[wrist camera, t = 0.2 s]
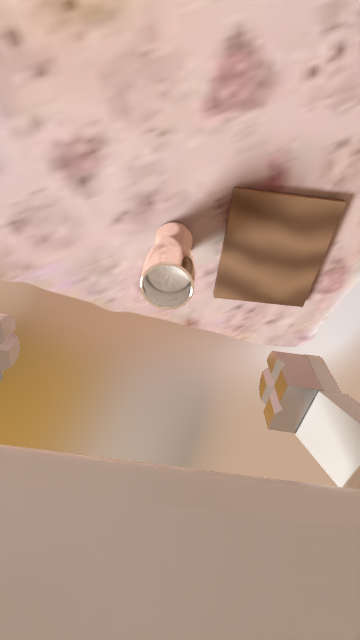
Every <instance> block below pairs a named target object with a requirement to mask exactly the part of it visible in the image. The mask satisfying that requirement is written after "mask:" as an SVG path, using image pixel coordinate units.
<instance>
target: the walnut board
mask: <svg viewBox="0 0 360 640" xmlns="http://www.w3.org/2000/svg"><path fill="white" fill-rule="evenodd" d="M346 204H347V202H345V201H344V200H341V199H332V198H324V197H315V196H307V195H298V194H290V193H281V192H272V191H264V190H255V189H247V188H238V187H234V191H233V196H232V201H231V206H230V211H229V216H228V221H227V227H226V232H225V237H224V242H223V247H222V252H221V257H220V262H219V267H218V272H217V277H216V282H215V288H214V293H213V294H214V298H223V299H232V300H242V301H251V302H261V303H270V304H280V305H289V306H299V307H303V305H304V303H305V300H306V298H307V296H308V293H309V291H310V289H311V286H312V284H313V281H314V279H315V277H316V274H317V272H318V270H319V267H320V265H321V263H322V260H323V258H324V255H325V253H326V251H327V248H328V246H329V244H330V241H331V239H332V237H333V234H334V232H335V230H336V227H337V225H338V222H339V220H340V218H341V215H342V213H343V211H344V208H345V206H346Z"/></svg>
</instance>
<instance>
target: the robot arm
mask: <svg viewBox="0 0 360 640" xmlns="http://www.w3.org/2000/svg"><path fill="white" fill-rule="evenodd" d="M15 328H16V324H15V321H14V318H13V317H12V316H10V315H7V314H0V381H1V379H2V378H3V373H2V371H4V370H6V369H8V368H10V367H12V366H13V364H14V363H15V362H16V360H17V357H18V354H19V350H20V343H19V339H18V337H16V335H15V334H14V333H13V330H14V329H15ZM267 363H268V368H267V369H265V370H264V371H263V372H262V375H261V378H260V385H259V391H260V398H261V400H262V401H263V402H264V403H265V404H266V407H265V409H264V414H265V419H266V423H267V427H268V429H271V430H278V431H284V432H291V433H296V436H297V437H298V438H299V440H300V441H301V442H302V443H303V444H304V446H305V447H306V448H307V449H308V451H309V452H310V453H311V454H312V455H313V457H314V458H315V459H316V460H317V461H318V463H319V464H320V465H321V466H322V467H323V469H324V470H325V471H326V472H327V473H328V475H329V476H330V477H331V478H332V480H333V481H334V482H335V483H336V484H337V486H338V487H334V486H327V485H318V484H311V483H303V482H294V481H287V480H279V479H271V478H263V477H254V476H246V475H239V474H231V473H222V472H215V471H207V470H199V469H191V468H183V467H175V466H167V465H159V464H151V463H143V462H135V461H127V460H120V459H111V458H104V457H95V456H88V455H80V454H71V453H63V452H55V451H47V450H40V449H32V448H24V447H16V446H8V445H0V640H360V403H358V402H357V401H356V400H354V399H353V398H352V397H350V396H349V395H348V394H342V392H341V391H340V389H339V387H338V385H337V383H336V382H335V380H334V378H333V376H332V374H331V373H330V371H329V369H328V367H327V365H326V364H325V362H324V360H323V359H322V358H321V357H320V356H313V355H300V354H292V353H284V352H276V351H272V352H271V353H270V354H269V356H268V359H267Z"/></svg>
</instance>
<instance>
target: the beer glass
mask: <svg viewBox="0 0 360 640" xmlns="http://www.w3.org/2000/svg"><path fill="white" fill-rule="evenodd" d="M192 242H193V240H192V235H191V233H190V231H189V230H188V228H187V227H185V226H184V225H182V224H180V223H177V222H170V223H166V224H164V225H162V226H161V227H160V228H159V229H158V231H157V233H156V235H155V245H154V246H153V247H152V249H151V250H150V252H149V253H148V255H147V257H146V259H145V262H144V265H143V269H142V276H141V281H140V289H141V292H142V295H143V296H144V298H145V299H146V300H147V301H148V302H149V303H150V304H151V305H153V306H155V307H157V308H160V309H166V310H171V309H176V308H179V307H182V306H183V305H185V304H186V303H187V302H188V301H189V300H190V299H191V297H192V295H193V292H194V284H195V275H196V269H195V261H194V258H193V255H192V252H191V250H190V249H191V247H192Z"/></svg>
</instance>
